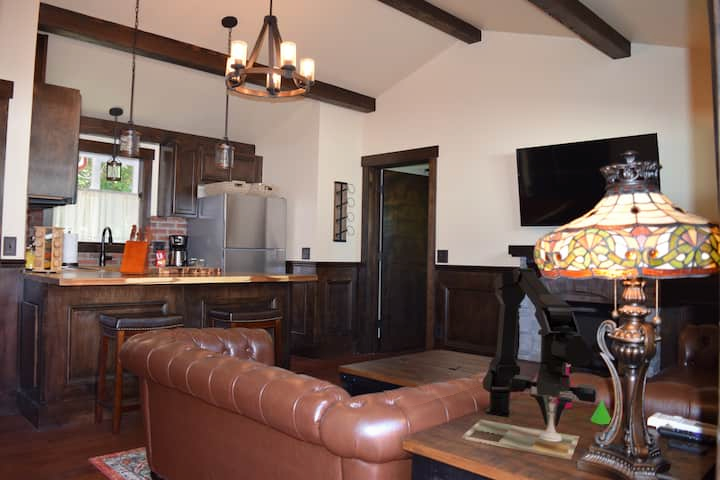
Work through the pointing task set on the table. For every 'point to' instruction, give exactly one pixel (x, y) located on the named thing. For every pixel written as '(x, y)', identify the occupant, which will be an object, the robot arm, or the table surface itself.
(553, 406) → the chess piece
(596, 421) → the gemstone
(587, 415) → the table surface
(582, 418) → the table surface
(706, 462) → the table surface
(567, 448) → the game board
